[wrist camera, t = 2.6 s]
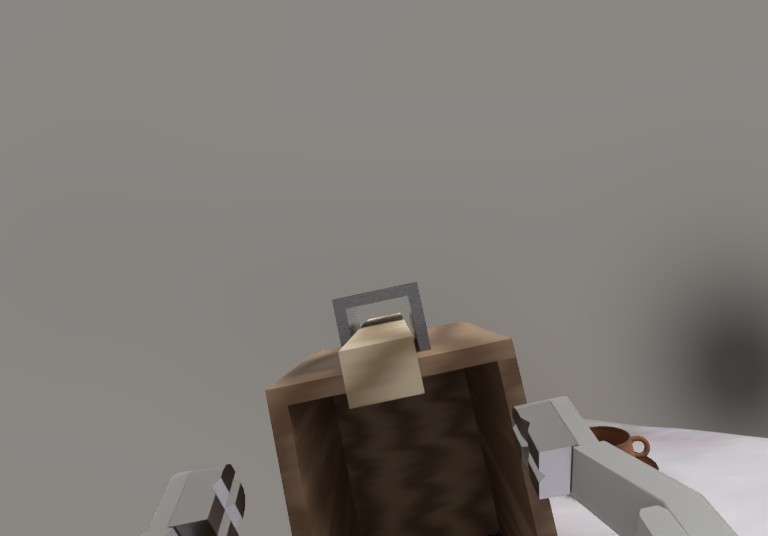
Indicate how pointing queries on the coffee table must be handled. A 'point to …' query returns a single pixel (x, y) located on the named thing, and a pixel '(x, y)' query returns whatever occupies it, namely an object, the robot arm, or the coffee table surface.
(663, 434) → the coffee table surface
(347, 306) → the metal tunnel
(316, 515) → the brown tall wooden box
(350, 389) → the beech bar
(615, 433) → the cup and saucer
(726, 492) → the coffee table surface
